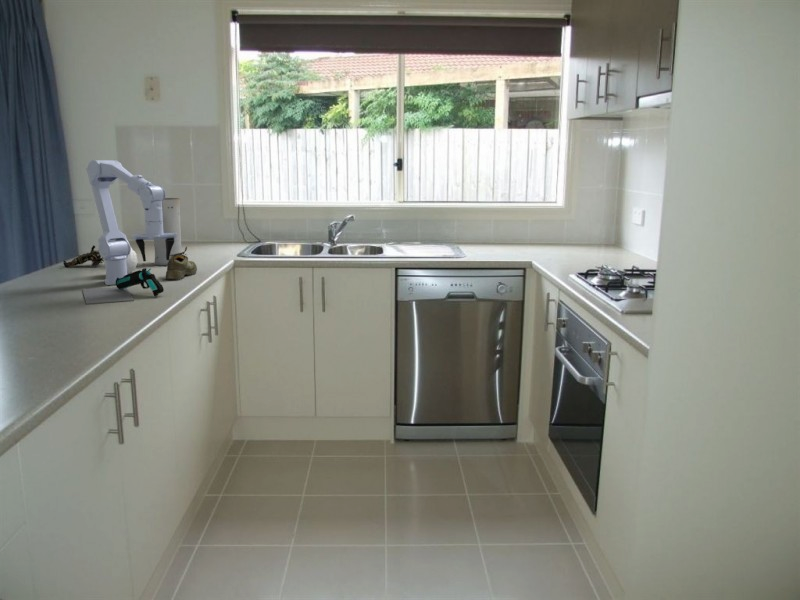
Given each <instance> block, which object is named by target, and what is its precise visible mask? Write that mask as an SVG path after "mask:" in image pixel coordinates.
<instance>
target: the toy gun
mask: <svg viewBox="0 0 800 600" xmlns="http://www.w3.org/2000/svg"><path fill="white" fill-rule="evenodd" d="M151 270H152V268H149V269H147V268H142V269H140V270H136V271H132V272H131V273H130V274H127V275H125V276H124V277H122V278H117V279H116V284H114V285H115V287H117V288H118V289H125V288H127V289H128V288H131V287H133V286H137V285H140V286H141V288H142V289H144V290H145V289H151V291H152V293H153V297H156V296H159V294H161V293H164V289H165V288H164V286H163V284H162V283H161V282H160V281H159V280H158V279H157V278H156V275H155V274H154V273H152V272H150V271H151ZM145 285H146V286H145Z"/></svg>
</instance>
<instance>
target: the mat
mask: <svg viewBox="0 0 800 600" xmlns="http://www.w3.org/2000/svg"><path fill="white" fill-rule="evenodd" d="M82 293H83V296H84V300H85V305H95V304H96V303H99V304H109V303H108V302H112V303H122V302H121V301H125V302H134V301H135V299H134V297H133V296H132V294H131V292H130V291H129V289H128V288H125V289H118V288H117V286H115V287H114V286H111V287H101V288H100V287H99V288H84V289H82ZM96 305H97V304H96Z"/></svg>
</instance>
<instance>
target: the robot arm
mask: <svg viewBox="0 0 800 600" xmlns="http://www.w3.org/2000/svg"><path fill="white" fill-rule="evenodd" d="M86 173H87V176H88V180H89V184H90V186H91V190H92V193H93V197H94V202H95V205H96V209H97V215H98V218H99V222H100V225H101V229H102V234H101V235H100V236H99V238H98V239H97V242H98V250H99V254H100V255H101V258H103V260H104V259H105V265H104V268H105V279H104V280H103V281H104V283H105V285H107V286H108V285H111V286H112V285H115V284H116V279H117V278H122V277H124V276H125V275H127V263H126V258H128V255H129V254H130V252H131V248H132V246H131V244H130V241H128V238H127V235H126V234H125V233H123V232H122V231H120V229H119V225H118V222H117V221H118V220H117V217H116V213H115V210H114V209H115V208H114V206H113V201H112V197H111V194H110V186H112V185H113V184H114V183H115V181H117V179H118V180H120V181H122V182H124V183H126V184H127V188H128V189H129V190H130V191H132V192H133V193H134V194H136V195H138V196H139V199H140V200H141V203H142V208H143V210H144V221H145V222H144V225H145V226H144V227H145V233H137V234H135V233H134V234H131V237H132V239H131V240H132V241H135V243H136V245H137V246H138V248H139V251H140V253H141V257H142V261H143V262H146V261H147V258H146V247H145V246H146V245H145V241H149V240H150V241H152V240H153V241H154V240H158V239H166V240H165V243H166V260H169V257H170V252H171V249H172V246H173V244H174V239H177V233H163V216H162V202H163V201H164V199H165V198H166V191H165V189H164V188H163V187H162V186H161V185H159V184H155V185H154V184H153V183H152V182H151V181H149V180H146V179H145V178H144V176H143V175H141V174H134V175H133V174H132V173H131V172H130V171H129V170H127V169H126V168H125V167H123V165H122V162H120V161H118V160H116V159H111V160H110V159H105V160H104V159H101V160H99V159H97V160H96V159H91V160H90V161H89V162H88V165H87V168H86ZM153 237H161V238H153Z"/></svg>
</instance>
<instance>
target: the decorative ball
mask: <svg viewBox="0 0 800 600" xmlns="http://www.w3.org/2000/svg"><path fill="white" fill-rule="evenodd" d="M103 260H104V262H103V263H104V266H105V259H103ZM126 263H127V274H130V273H133V272H134V270H135V269H136V267H137V265H138V254H137V253H136V251H134V249H133V248H132V247H131V252H130V254H129V255H128V258H126Z"/></svg>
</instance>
